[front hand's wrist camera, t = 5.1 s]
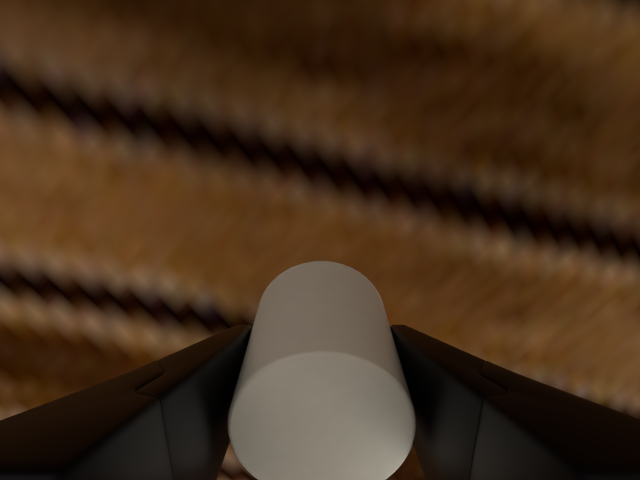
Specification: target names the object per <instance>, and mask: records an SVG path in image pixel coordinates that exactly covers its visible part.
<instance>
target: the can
mask: <svg viewBox="0 0 640 480" xmlns="http://www.w3.org/2000/svg"><path fill="white" fill-rule="evenodd" d="M227 424H228V434H229V438H230V442H231V446H232V448H233V450H234V453H235V455H236V456H237V458H238V459H239V461H240V462H241V464H242V465H243V466H244V467H245V469H246V470H247V471H248V472H250V473H251V474H252V475H253V476H254V477H255V478H257V479H258V480H385V479H387V478H388V477H389V476H390V475H392V474H393V473H394V472H395V471H396V470H397V469H398V468H399V467H400V465H401V464H402V463H403V461H404V460H405V458H406V457H407V455H408V453H409V451H410V449H411V447H412V444H413V440H414V437H415V430H416V416H415V411H414V406H413V403H412V400H411V396H410V393H409V390H408V386H407V383H406V379H405V376H404V373H403V369H402V366H401V363H400V359H399V356H398V353H397V349H396V346H395V342H394V339H393V336H392V332H391V329H390V326H389V322H388V319H387V316H386V312H385V309H384V306H383V302H382V300H381V297H380V295H379V293H378V291H377V289H376V288H375V287H374V285H373V284H372V283H371V282H370V281H369V280H368V279H367V278H366V277H365V276H364V275H362V274H361V273H360V272H358V271H356V270H355V269H353V268H351V267H348V266H346V265H343V264H339V263H336V262H329V261H314V262H307V263H303V264H299V265H297V266H294V267H292V268H290V269H288V270H286V271H284V272H283V273H281V274H280V275H278V276H277V277H276V278H275V279H274V280H273V281H272V282H271V283H270V284H269V286H268V287H267V288H266V290H265V292H264V293H263V295H262V298H261V300H260V303H259V307H258V310H257V314H256V317H255V321H254V325H253V328H252V332H251V335H250V339H249V342H248V346H247V349H246V353H245V356H244V360H243V363H242V367H241V370H240V374H239V377H238V381H237V384H236V388H235V391H234V395H233V398H232V402H231V405H230V409H229V413H228V422H227Z"/></svg>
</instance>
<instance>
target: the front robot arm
mask: <svg viewBox="0 0 640 480" xmlns="http://www.w3.org/2000/svg"><path fill="white" fill-rule="evenodd" d="M390 329H391V332H392V336H393V339H394V342H395V346H396V349H397V353H398V356H399V359H400V363H401V366H402V369H403V373H404V376H405V379H406V383H407V386H408V390H409V393H410V396H411V400H412V403H413V406H414V411H415V416H416V430H415V437H414V440H413V445H414V448H415V451H416V454H417V457H418V459H419V462H420V465H421V468H422V471H423V474H424V476H425V479H426V480H640V419H637V418H635V417H632V416H629V415H627V414H624V413H621V412H619V411H616V410H613V409H610V408H608V407H605V406H602V405H600V404H597V403H594V402H592V401H589V400H586V399H583V398H581V397H578V396H575V395H573V394H570V393H567V392H565V391H562V390H559V389H556V388H554V387H551V386H548V385H546V384H543V383H540V382H538V381H535V380H532V379H530V378H527V377H524V376H522V375H519V374H517V373H514V372H512V371H509V370H507V369H505V368H502V367H500V366H497V365H495V364H493V363H491V362H488V361H486V362H485V360H483V359H480V358H478V357H476V356H473V355H471V354H469V353H467V352H464V351H462V350H460V349H458V348H455V347H453V346H451V345H449V344H446V343H444V342H442V341H439V340H437V339H435V338H433V337H430V336H428V335H426V334H424V333H421V332H419V331H417V330H415V329H412V328H410V327H408V326H405V325H392V326H391V327H390ZM251 332H252V329H251V326H250V325H236V326H234V327H232V328H229V329H227V330H225V331H223V332H220V333H218V334H216V335H214V336H211V337H209V338H207V339H205V340H202V341H200V342H198V343H196V344H193V345H191V346H189V347H187V348H184V349H182V350H180V351H178V352H175V353H173V354H171V355H169V356H167V357H164V358H162V359H160V360H158V361H154V362H152V363H150V364H147V365H145V366H143V367H140V368H138V369H136V370H133V371H131V372H128V373H126V374H123V375H121V376H118V377H116V378H113V379H110V380H108V381H105V382H102V383H100V384H97V385H94V386H92V387H89V388H86V389H84V390H81V391H78V392H76V393H73V394H70V395H68V396H65V397H62V398H60V399H57V400H54V401H52V402H49V403H46V404H44V405H41V406H38V407H35V408H33V409H30V410H27V411H25V412H22V413H19V414H17V415H14V416H11V417H9V418H6V419H3V420H1V421H0V480H217V477H218V474H219V471H220V468H221V465H222V462H223V460H224V457H225V454H226V451H227V448H228V445H229V442H230V438H229V434H228V424H227V422H228V413H229V409H230V405H231V402H232V398H233V395H234V391H235V388H236V384H237V381H238V377H239V374H240V370H241V367H242V363H243V360H244V356H245V353H246V349H247V346H248V342H249V339H250V335H251Z"/></svg>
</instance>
